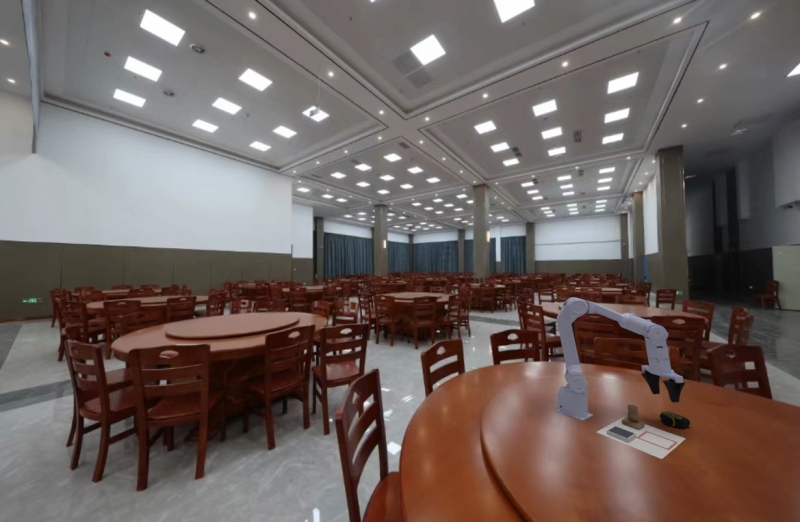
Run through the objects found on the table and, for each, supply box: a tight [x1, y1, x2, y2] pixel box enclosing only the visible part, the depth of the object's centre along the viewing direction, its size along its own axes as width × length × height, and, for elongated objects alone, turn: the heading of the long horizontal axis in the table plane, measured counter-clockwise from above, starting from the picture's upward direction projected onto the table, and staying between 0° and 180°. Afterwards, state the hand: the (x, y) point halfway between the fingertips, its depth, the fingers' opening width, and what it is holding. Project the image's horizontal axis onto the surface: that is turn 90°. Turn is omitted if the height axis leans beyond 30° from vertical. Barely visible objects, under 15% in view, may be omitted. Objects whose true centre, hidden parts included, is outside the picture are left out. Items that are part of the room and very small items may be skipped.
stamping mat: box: [596, 416, 687, 460], centre depth 96 cm, size 17×21×2 cm
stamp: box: [622, 404, 646, 430], centre depth 102 cm, size 5×5×6 cm
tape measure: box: [659, 410, 691, 429], centre depth 103 cm, size 7×7×4 cm
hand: (665, 397), depth 101 cm, fingers open, 7 cm apart
